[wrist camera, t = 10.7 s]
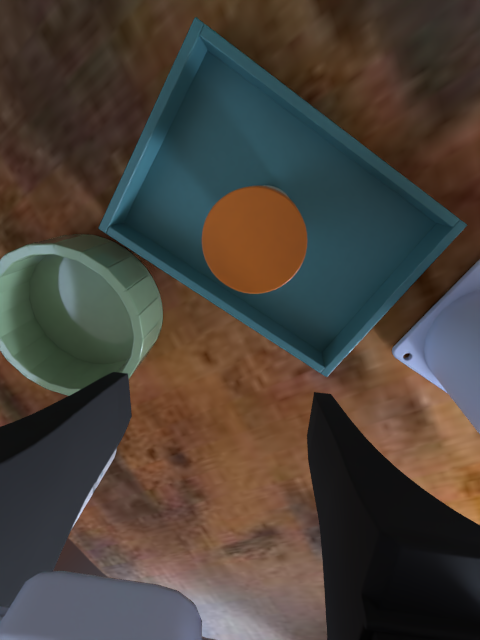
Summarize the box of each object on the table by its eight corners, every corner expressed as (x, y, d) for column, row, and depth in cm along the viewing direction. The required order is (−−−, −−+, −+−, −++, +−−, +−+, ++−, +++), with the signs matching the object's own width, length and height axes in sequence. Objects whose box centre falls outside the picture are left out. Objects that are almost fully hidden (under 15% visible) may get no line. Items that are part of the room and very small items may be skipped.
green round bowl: (188, 289, 23) (171, 309, 19) (126, 389, 26) (102, 421, 23) (55, 202, 21) (11, 207, 18) (9, 320, 25) (-35, 343, 22)
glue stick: (309, 207, 19) (330, 228, 11) (272, 259, 21) (266, 312, 12) (256, 169, 19) (238, 162, 11) (222, 225, 20) (182, 257, 12)
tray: (446, 219, 19) (467, 225, 17) (322, 358, 23) (326, 377, 21) (206, 37, 17) (194, 16, 15) (117, 223, 22) (97, 228, 19)
